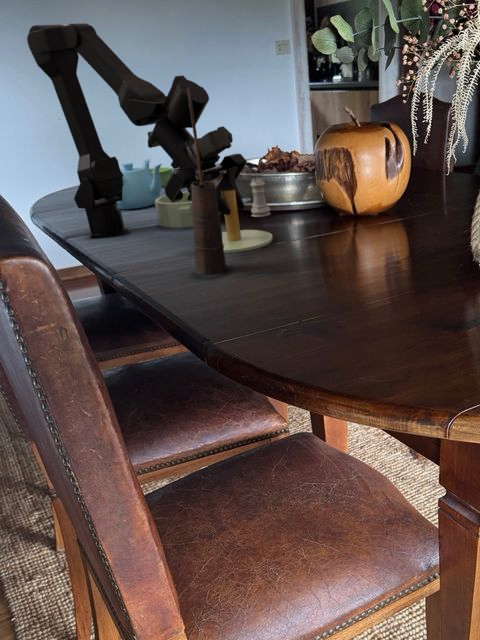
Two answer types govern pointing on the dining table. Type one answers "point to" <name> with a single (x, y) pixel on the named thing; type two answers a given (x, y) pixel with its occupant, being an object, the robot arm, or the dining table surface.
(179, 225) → the pan
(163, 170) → the ramekin
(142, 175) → the teapot
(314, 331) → the dining table surface
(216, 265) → the butter churn
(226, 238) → the lid
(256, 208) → the rook chess piece
